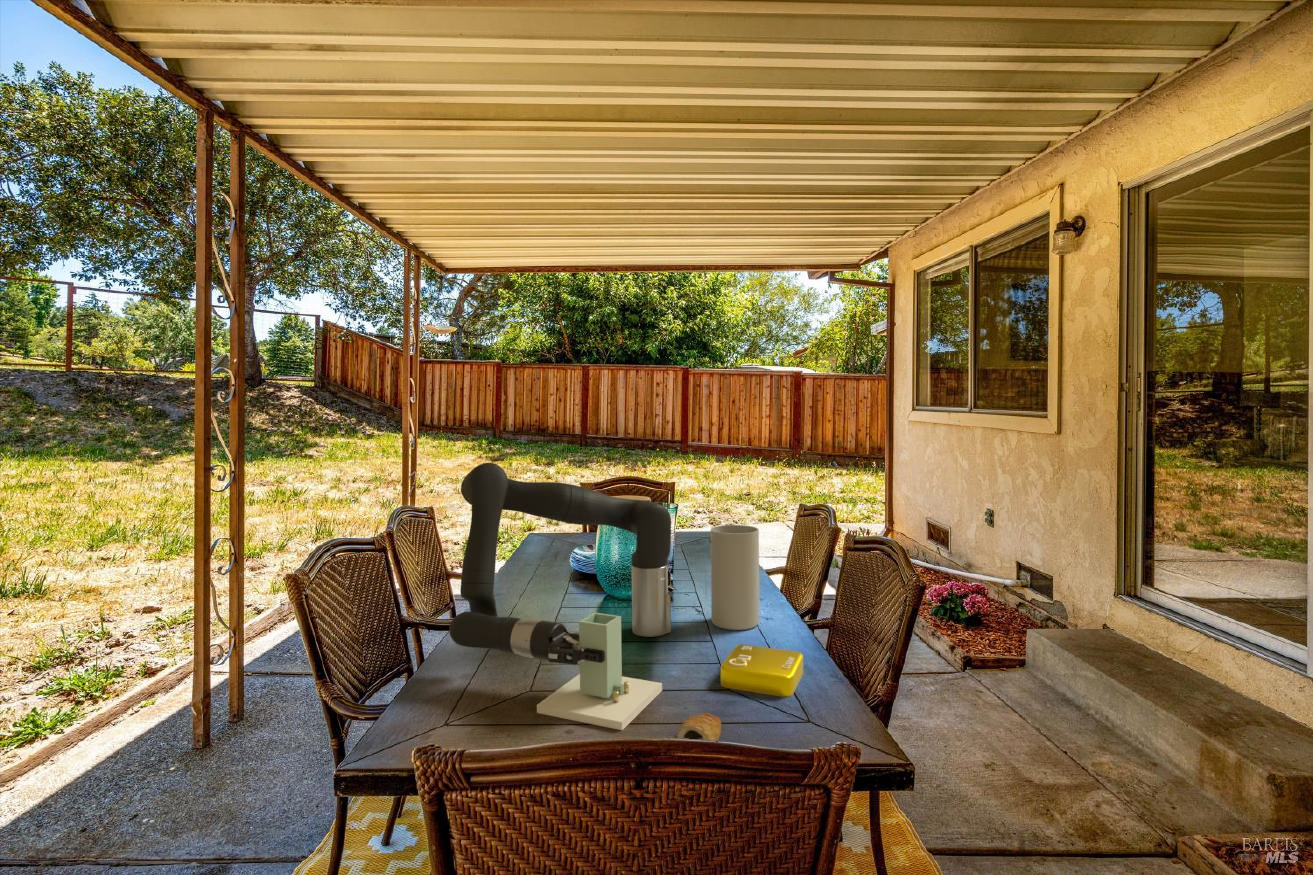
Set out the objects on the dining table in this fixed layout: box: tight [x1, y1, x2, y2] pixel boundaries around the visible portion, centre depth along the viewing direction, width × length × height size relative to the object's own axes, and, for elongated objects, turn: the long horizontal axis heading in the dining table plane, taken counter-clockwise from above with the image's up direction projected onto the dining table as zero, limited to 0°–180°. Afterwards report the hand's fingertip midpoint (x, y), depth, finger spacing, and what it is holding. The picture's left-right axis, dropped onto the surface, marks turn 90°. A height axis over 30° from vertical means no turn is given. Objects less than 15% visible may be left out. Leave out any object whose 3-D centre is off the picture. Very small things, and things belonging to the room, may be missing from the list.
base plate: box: [536, 673, 663, 731], centre depth 131 cm, size 18×18×9 cm
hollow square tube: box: [578, 612, 624, 698], centre depth 130 cm, size 8×6×14 cm
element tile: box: [720, 644, 804, 697], centre depth 141 cm, size 15×15×5 cm
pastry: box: [676, 712, 722, 742], centre depth 117 cm, size 9×7×4 cm
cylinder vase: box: [710, 524, 760, 631], centre depth 176 cm, size 12×12×25 cm
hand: (611, 650), depth 129 cm, fingers closed on hollow square tube, 6 cm apart
